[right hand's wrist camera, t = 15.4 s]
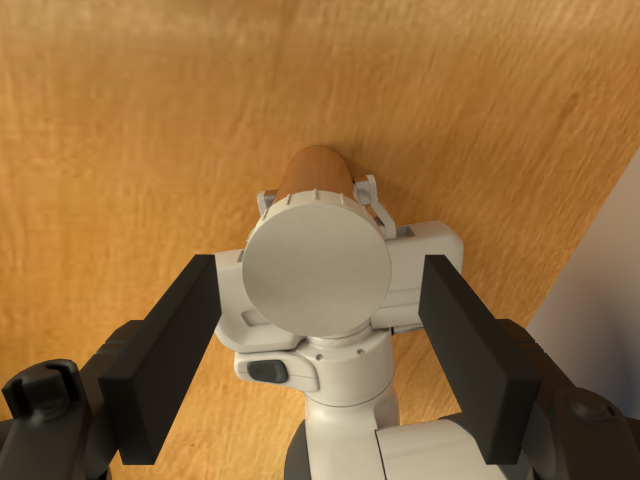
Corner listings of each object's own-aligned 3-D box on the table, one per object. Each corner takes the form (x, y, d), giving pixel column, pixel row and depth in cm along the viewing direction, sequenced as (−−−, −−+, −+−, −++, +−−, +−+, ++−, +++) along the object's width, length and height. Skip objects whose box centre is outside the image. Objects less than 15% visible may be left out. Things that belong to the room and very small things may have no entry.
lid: (413, 241, 16) (425, 260, 14) (330, 333, 18) (332, 361, 16) (300, 159, 15) (297, 169, 13) (223, 269, 17) (211, 291, 15)
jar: (361, 170, 31) (410, 257, 15) (324, 219, 33) (330, 346, 16) (310, 132, 30) (299, 178, 13) (274, 184, 32) (225, 284, 15)
